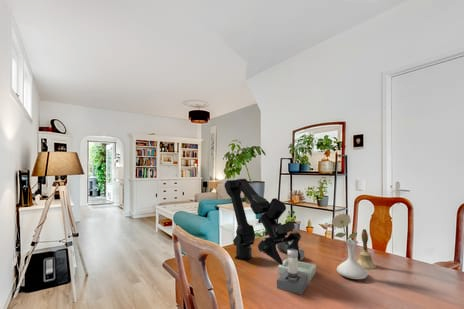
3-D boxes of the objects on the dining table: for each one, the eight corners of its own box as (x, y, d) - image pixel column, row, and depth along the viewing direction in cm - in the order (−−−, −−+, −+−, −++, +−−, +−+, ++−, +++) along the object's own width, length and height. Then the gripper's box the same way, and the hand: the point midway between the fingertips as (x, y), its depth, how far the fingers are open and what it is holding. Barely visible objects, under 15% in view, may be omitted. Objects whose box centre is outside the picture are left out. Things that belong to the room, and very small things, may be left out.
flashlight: (276, 251, 129) (276, 240, 130) (284, 249, 132) (284, 239, 132) (295, 261, 116) (295, 249, 116) (304, 259, 118) (304, 247, 118)
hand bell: (367, 270, 105) (366, 232, 106) (351, 263, 113) (350, 228, 114) (380, 267, 108) (380, 230, 109) (364, 260, 116) (363, 226, 117)
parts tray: (277, 273, 102) (277, 266, 102) (285, 265, 110) (285, 258, 110) (309, 281, 95) (309, 273, 95) (315, 272, 103) (315, 264, 104)
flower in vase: (365, 272, 104) (364, 212, 105) (370, 284, 93) (369, 217, 94) (331, 267, 108) (330, 210, 109) (333, 279, 97) (332, 215, 98)
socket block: (276, 288, 90) (276, 279, 90) (285, 278, 97) (285, 270, 98) (301, 294, 85) (301, 286, 85) (308, 284, 93) (308, 276, 93)
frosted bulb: (286, 287, 91) (285, 251, 91) (289, 282, 94) (289, 248, 94) (296, 289, 89) (296, 253, 89) (299, 285, 92) (299, 250, 93)
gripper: (262, 217, 93) (283, 255, 83) (297, 212, 103) (320, 246, 93) (250, 233, 99) (268, 271, 89) (284, 227, 109) (304, 261, 99)
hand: (291, 262), depth 92 cm, fingers open, 9 cm apart
